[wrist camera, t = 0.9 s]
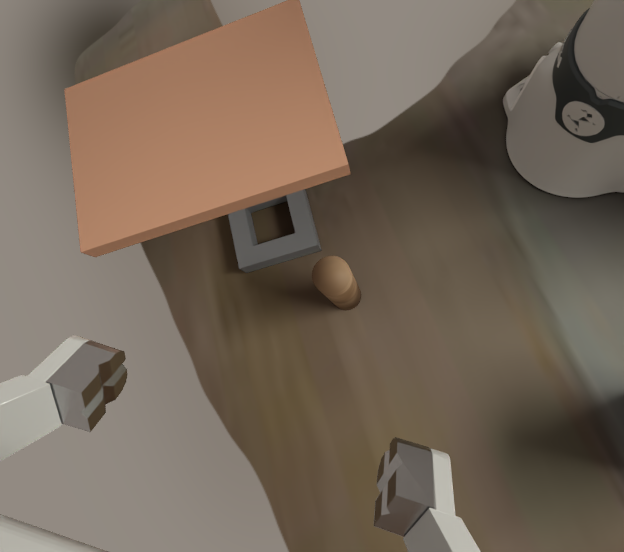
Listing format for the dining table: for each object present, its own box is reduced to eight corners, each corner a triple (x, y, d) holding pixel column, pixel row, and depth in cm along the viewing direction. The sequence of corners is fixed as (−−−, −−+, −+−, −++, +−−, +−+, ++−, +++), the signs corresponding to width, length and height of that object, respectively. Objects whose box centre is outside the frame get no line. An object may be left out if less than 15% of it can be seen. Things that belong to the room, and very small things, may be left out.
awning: (368, 248, 47) (348, 164, 27) (209, 295, 50) (80, 252, 30) (336, 142, 51) (298, -4, 30) (190, 192, 54) (64, 89, 33)
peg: (346, 275, 47) (331, 248, 36) (367, 295, 46) (358, 273, 35) (325, 295, 47) (304, 275, 36) (346, 316, 46) (330, 302, 35)
